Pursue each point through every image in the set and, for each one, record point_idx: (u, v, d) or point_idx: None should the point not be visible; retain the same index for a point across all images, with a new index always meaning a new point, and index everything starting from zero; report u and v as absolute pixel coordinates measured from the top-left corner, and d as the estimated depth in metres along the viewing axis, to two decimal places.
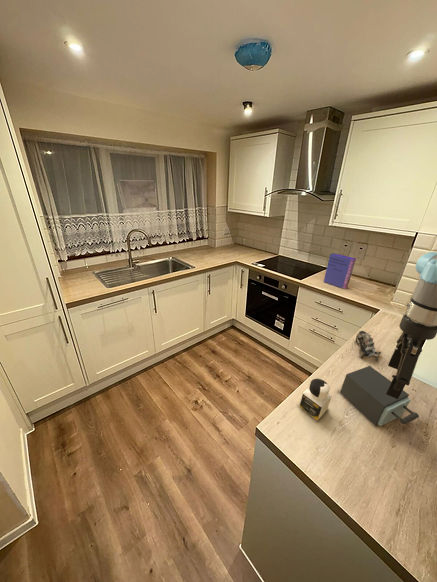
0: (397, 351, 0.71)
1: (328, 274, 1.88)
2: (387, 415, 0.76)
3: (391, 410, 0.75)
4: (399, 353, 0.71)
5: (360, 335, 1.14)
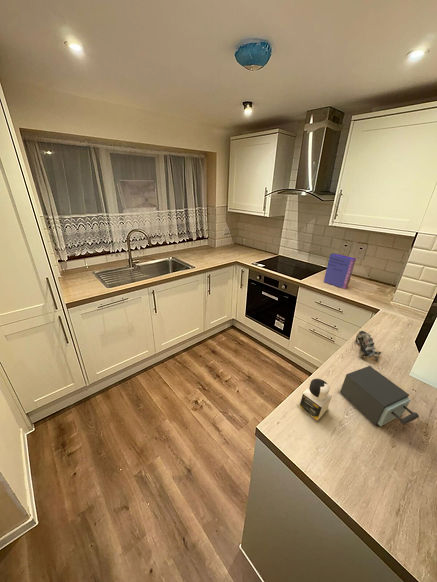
0: None
1: (328, 274, 1.88)
2: (387, 415, 0.76)
3: (391, 410, 0.75)
4: None
5: (360, 335, 1.14)
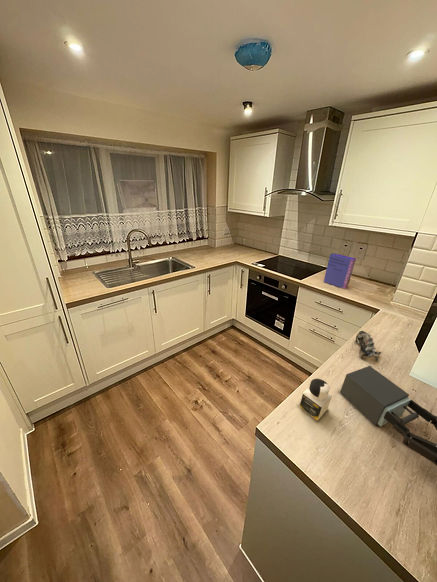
0: None
1: (328, 274, 1.88)
2: None
3: (391, 410, 0.75)
4: None
5: (360, 335, 1.14)
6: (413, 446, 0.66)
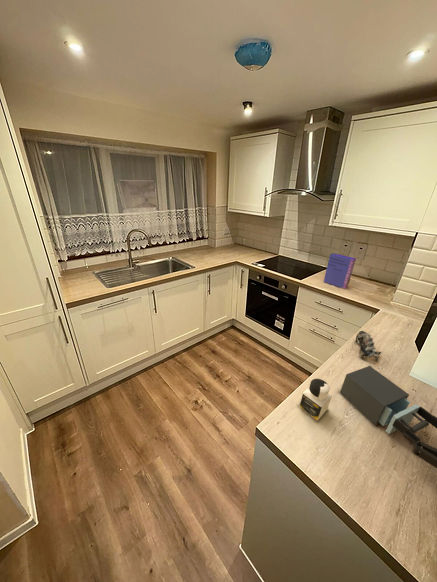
0: None
1: (328, 274, 1.88)
2: None
3: (400, 418, 0.73)
4: None
5: (360, 335, 1.14)
6: (424, 456, 0.64)
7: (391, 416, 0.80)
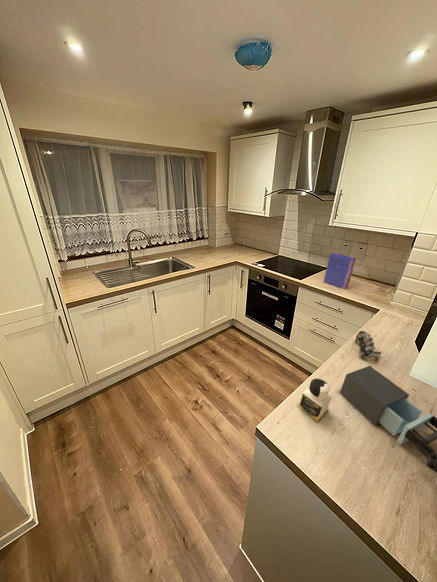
0: None
1: (328, 274, 1.88)
2: None
3: (412, 428, 0.70)
4: None
5: (360, 335, 1.14)
6: None
7: (402, 425, 0.77)
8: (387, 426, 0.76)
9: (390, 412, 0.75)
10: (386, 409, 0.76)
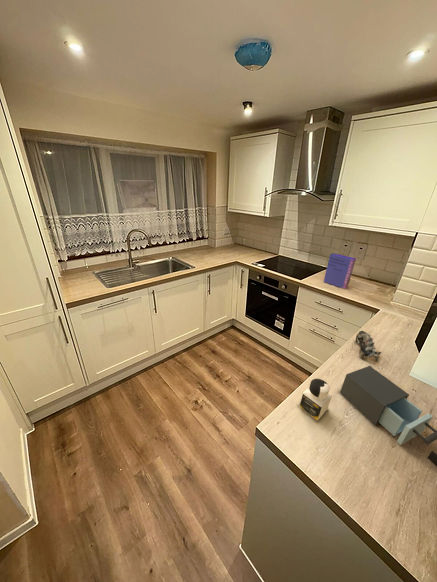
0: None
1: (328, 274, 1.88)
2: (408, 433, 0.70)
3: (413, 428, 0.70)
4: None
5: (360, 335, 1.14)
6: None
7: (402, 425, 0.77)
8: (387, 426, 0.76)
9: (390, 412, 0.74)
10: (386, 409, 0.76)
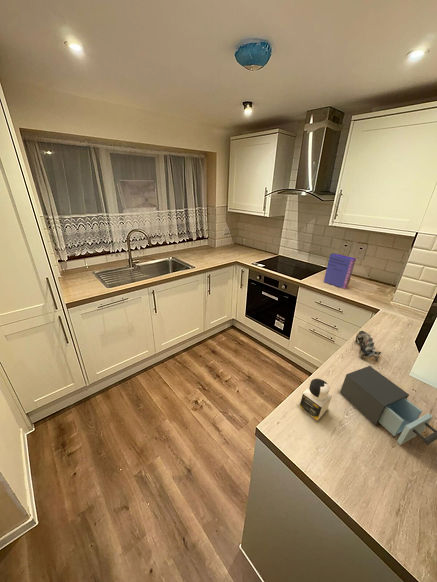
0: None
1: (328, 274, 1.88)
2: (408, 433, 0.70)
3: (413, 428, 0.70)
4: None
5: (360, 335, 1.14)
6: None
7: (402, 425, 0.77)
8: (387, 426, 0.76)
9: (390, 412, 0.74)
10: (386, 409, 0.76)
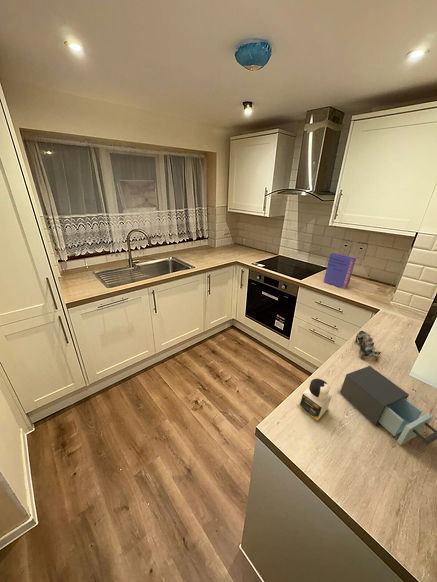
0: None
1: (328, 274, 1.88)
2: (408, 433, 0.70)
3: (413, 428, 0.70)
4: None
5: (360, 335, 1.14)
6: None
7: (402, 425, 0.77)
8: (387, 426, 0.76)
9: (390, 412, 0.74)
10: (386, 409, 0.76)
